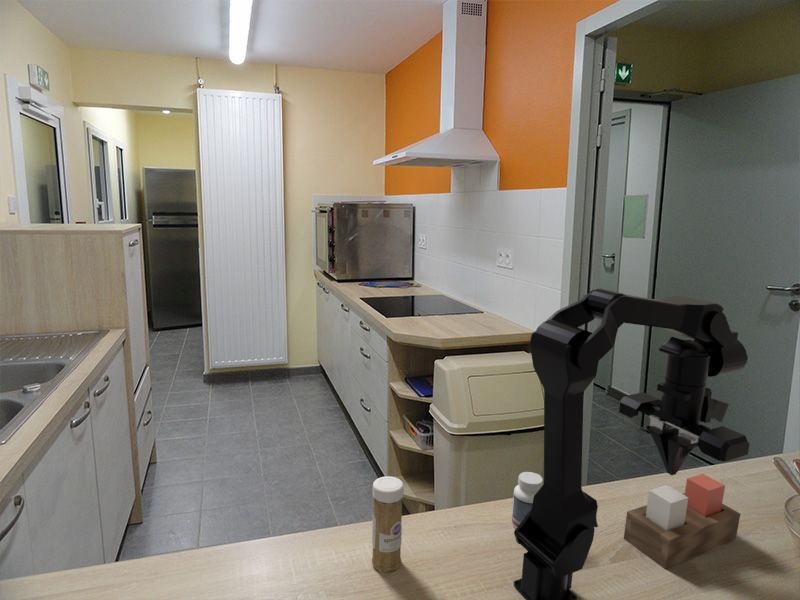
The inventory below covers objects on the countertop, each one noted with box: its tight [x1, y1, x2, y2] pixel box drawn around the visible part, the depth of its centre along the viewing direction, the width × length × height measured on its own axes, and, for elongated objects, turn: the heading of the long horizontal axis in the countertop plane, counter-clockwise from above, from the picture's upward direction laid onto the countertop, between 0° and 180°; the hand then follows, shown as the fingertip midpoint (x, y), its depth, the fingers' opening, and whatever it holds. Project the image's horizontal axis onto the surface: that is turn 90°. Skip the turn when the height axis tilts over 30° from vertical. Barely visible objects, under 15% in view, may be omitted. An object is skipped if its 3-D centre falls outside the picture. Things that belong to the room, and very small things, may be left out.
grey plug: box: [646, 484, 688, 531], centre depth 88 cm, size 4×4×5 cm
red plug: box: [684, 473, 726, 517], centre depth 91 cm, size 4×4×5 cm
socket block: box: [623, 492, 741, 570], centre depth 90 cm, size 17×8×5 cm, turn 116°
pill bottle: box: [510, 471, 544, 529], centre depth 93 cm, size 5×5×9 cm
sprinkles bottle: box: [371, 476, 404, 573], centre depth 82 cm, size 5×5×13 cm
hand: (671, 473), depth 86 cm, fingers closed
